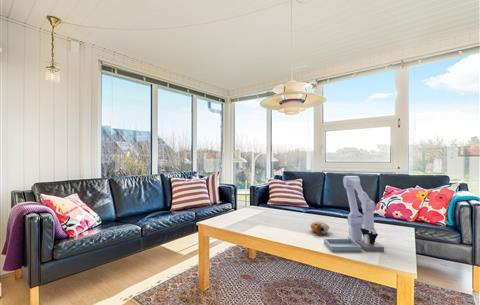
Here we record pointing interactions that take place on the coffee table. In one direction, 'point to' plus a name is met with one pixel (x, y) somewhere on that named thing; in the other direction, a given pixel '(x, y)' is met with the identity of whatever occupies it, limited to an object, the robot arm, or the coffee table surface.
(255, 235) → the coffee table surface
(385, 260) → the coffee table surface
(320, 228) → the nautilus
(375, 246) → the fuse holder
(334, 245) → the tray
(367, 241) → the fuse
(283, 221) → the coffee table surface
